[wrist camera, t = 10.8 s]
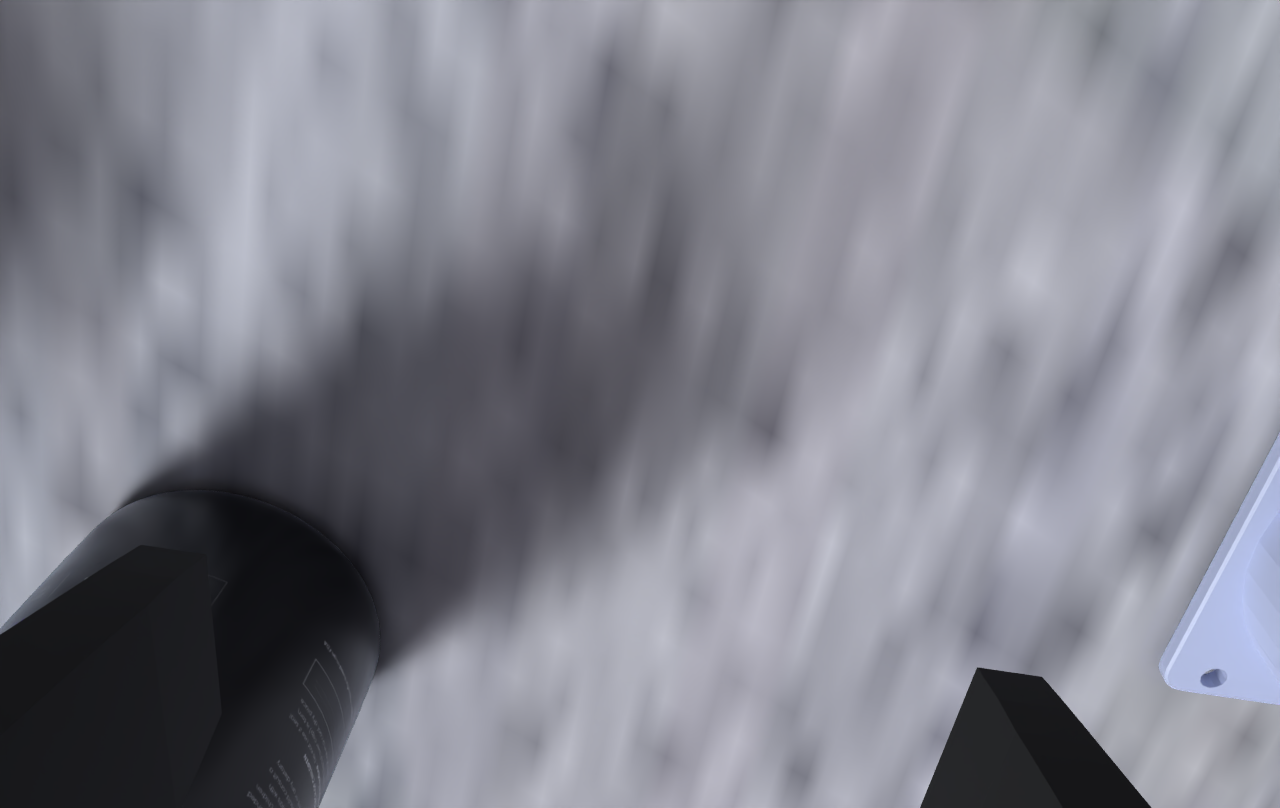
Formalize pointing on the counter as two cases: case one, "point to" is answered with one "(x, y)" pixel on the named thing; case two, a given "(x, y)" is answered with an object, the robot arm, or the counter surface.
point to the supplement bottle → (256, 638)
